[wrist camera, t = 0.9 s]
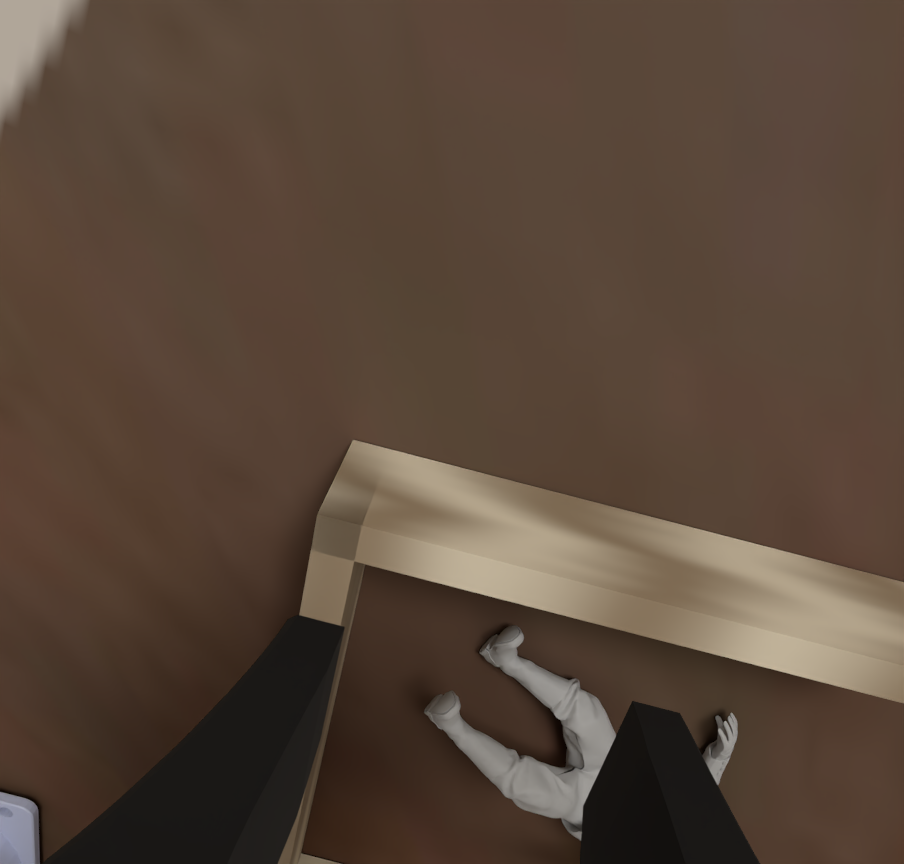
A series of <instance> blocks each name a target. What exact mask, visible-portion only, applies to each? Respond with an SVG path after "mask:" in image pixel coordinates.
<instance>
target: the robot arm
mask: <svg viewBox="0 0 904 864" xmlns="http://www.w3.org/2000/svg"><path fill="white" fill-rule="evenodd" d="M344 629H345V627H343V626H340V625H336V624H332V623H328V622H324V621H320V620H316V619H312V618H308V617H305V616H301V615H296V616H294V617H292V618H290V619H288V620H287V621H286V623H285V624H284V626H283V627H282V629H281V630H280V631H279V633H278V634H277V636H276V637H275V638H274V639H273V641H272V642H271V643H270V645H269V646H268V647H267V648H266V650H265V651H264V652H263V653H262V655H261V656H260V657H259V658H258V659H257V661H256V662H255V663H254V664H253V665H252V666H251V668H250V669H249V670H248V671H247V672H246V673H245V674H244V676H243V677H242V678H241V679H240V680H239V681H238V682H237V683H236V685H235V686H234V687H233V688H232V689H231V690H230V691H229V692H228V693H227V695H226V696H225V697H224V698H223V699H222V700H221V701H220V702H219V703H218V704H217V705H216V706H215V707H214V708H213V709H212V710H211V711H210V712H209V713H208V714H207V715H206V716H205V717H204V718H203V719H202V721H201V722H200V723H199V724H198V725H197V726H196V727H195V728H194V729H193V730H192V731H191V732H190V733H189V734H188V735H187V736H186V737H185V738H184V739H183V740H182V741H181V742H180V743H179V744H178V745H177V746H176V747H175V748H174V749H173V750H172V751H170V752H169V753H168V754H167V755H166V756H165V757H164V758H163V759H162V760H161V761H160V762H159V763H158V764H156V765H155V766H154V767H153V768H152V769H151V770H150V771H149V772H148V773H147V774H146V775H145V776H144V777H143V778H141V779H140V780H139V781H138V782H137V783H136V784H135V785H134V786H133V787H132V788H131V789H130V790H129V791H127V792H126V793H125V794H124V795H123V796H122V797H121V798H120V799H119V800H117V801H116V802H115V803H114V804H113V805H112V806H111V807H109V808H108V809H107V810H106V811H105V812H104V813H102V814H101V815H100V816H99V817H98V818H97V819H95V820H94V821H93V822H92V823H91V824H90V825H88V826H87V827H86V828H85V829H84V830H82V831H81V832H80V833H79V834H78V835H76V836H75V837H74V838H73V839H72V840H70V841H69V842H68V843H67V844H65V845H64V846H63V847H62V848H60V849H59V850H58V851H57V852H55V853H54V854H53V855H52V856H50V857H49V858H48V859H47V860H46V861H44V862H43V863H42V864H278V862H279V859H280V857H281V854H282V852H283V849H284V847H285V845H286V842H287V840H288V837H289V835H290V832H291V830H292V827H293V825H294V822H295V820H296V818H297V814H298V811H299V808H300V805H301V801H302V798H303V795H304V792H305V788H306V785H307V782H308V779H309V775H310V772H311V769H312V765H313V762H314V759H315V756H316V752H317V749H318V746H319V742H320V739H321V735H322V730H323V726H324V721H325V716H326V712H327V707H328V703H329V698H330V693H331V689H332V684H333V680H334V675H335V670H336V666H337V661H338V657H339V652H340V647H341V643H342V638H343V634H344ZM0 864H40V851H39V815H38V808H37V806H36V804H35V803H34V802H32V801H31V800H29V799H26V798H23V797H19V796H15V795H11V794H7V793H3V792H0ZM580 864H760V863H759V861H758V859H757V857H756V856H755V854H754V852H753V850H752V849H751V847H750V845H749V843H748V841H747V839H746V838H745V836H744V834H743V832H742V830H741V828H740V827H739V825H738V823H737V821H736V819H735V817H734V815H733V814H732V812H731V810H730V808H729V806H728V804H727V802H726V800H725V798H724V797H723V795H722V793H721V791H720V789H719V787H718V785H717V783H716V781H715V779H714V777H713V776H712V774H711V772H710V770H709V768H708V766H707V764H706V762H705V760H704V758H703V756H702V754H701V752H700V750H699V748H698V747H697V745H696V743H695V741H694V739H693V737H692V735H691V733H690V731H689V729H688V727H687V726H686V724H685V722H684V720H683V718H682V716H681V715H680V713H677V712H673V711H669V710H665V709H661V708H658V707H654V706H650V705H646V704H642V703H638V702H634V701H632V703H631V705H630V707H629V710H628V712H627V714H626V716H625V718H624V720H623V722H622V724H621V727H620V729H619V731H618V733H617V735H616V737H615V739H614V741H613V743H612V746H611V748H610V750H609V752H608V754H607V756H606V758H605V760H604V763H603V765H602V767H601V769H600V771H599V773H598V775H597V777H596V780H595V782H594V784H593V786H592V788H591V790H590V792H589V794H588V797H587V799H586V801H585V803H584V805H583V817H582V834H581V851H580Z"/></svg>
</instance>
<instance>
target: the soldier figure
mask: <svg viewBox="0 0 904 864" xmlns="http://www.w3.org/2000/svg"><path fill="white" fill-rule="evenodd" d="M523 639H524V636H523V633H522V632H521V629H520V628H519V627H518V626H515V625H513V626H509V627H507V628H505V629H504V630H503V631H502V632H501V633H500V635H499V636H498V635H497V634H496V635H494V636H492V637H491V638H490V639H488V641H487V642H486V643H485V644H484V645H483V646H482V648H481V649H480V651H479V653H480V654H481V655H483V656H484V658H485V659H486V661H488V662H490V663H491V664H493V665H494V666H495V667H500V668H501V670H502V671H503V672H505V673H506V674H508V675H509V676H512V677H514V678H515V679H516V680H517V681H518V682H519V683H520V684H522V685H523V686H524V687H525V688H526V689H528V690H529V691H530V692H531V693H532V694H533V695H534V696H535V697H536V698H537V699H538V700H539V701H540V702H542V703H543V704H544V705H545V706H546V707H548V708H550V710H551V711H552V712H553V713H554V715H555V716H556V718H558V719H559V720H560V721H561V724H562V725H563V736H564V740H565V743H566V746H567V753H566V766H565V767H562V768H559V767H555V766H551V765H548V764H546V763H543V762H539V761H537V760H536V759H534V758H532V757H530V756H527V755H523V756H518V754H517V752H516V751H515V750H513V749H508V748H505V747H504V746H503V745H502V744H500V743H499V742H497V741H496V740H494V739H493V738H491V737H489V736H488V735H486V734H484V733H482V732H480V731H478V730H475V729H473V728H472V727H471V726H469V725H468V724H467V723H466V722H465V721H464V720H463V719H462V718H461V716H460V712H459V710H460V707H461V705H460V701H459V697H458V696H457V695H456V694H455V692H454V691H449V692H447V693H445V694H444V695H442V694H439V695H437V696H435V697H434V699H433V700H432V701H431V702H430V703H429V704H428V705H427V707H426V708H425V711H424V713H425V714H426V715H427V716H428V717H429V718H430V720H431V721H432V722H434V723H435V724H436V725H437V727H438V728H439V729H443V730H444V731H445V732H446V733H447V734H448V736H449V737H450V738H451V739H452V740H453V741H454V742H455V744H456V745H457V747H458V748H459V749H461V750H462V751H463V752H464V753H465V754H466V755H467V756H468V757H469V758H470V759H471V760H472V761H473V763H474V764H475V765H476V766H477V767H478V768H479V770H480V771H481V772H482V773H483V774H484V775H485V776H486V777H487V778H488V779H489V780H490V781H491V782H492V783H493V784H495V785H496V786H497V787H498V788H499V790H500V791H501V792H502V793H503V795H504V796H505V797H507V798H510V799H512V800H513V802H514V803H515V804H516V805H517V806H518V807H520V808H521V809H523V810H526V811H530V812H533V813H536V814H540V815H543V816H547V817H550V818H561V819H562V823H563V825H564V826H565V828H566V829H567V831H568V832H569V833H570V834H572V835H573V836H574V837H576V838H577V839H579V840H580V841H581V834H582V817H583V805H584V803H585V801H586V799H587V797H588V794H589V792H590V790H591V788H592V786H593V784H594V782H595V780H596V777H597V775H598V773H599V771H600V769H601V767H602V765H603V763H604V760H605V758H606V756H607V754H608V752H609V750H610V748H611V746H612V743H613V741H614V739H615V737H616V734H615V731H614V729H613V728H612V725H611V723H610V720H609V718H608V716H607V713H606V711H605V710H604V708H603V707H602V705H601V703H600V701H599V700H598V698H597V697H595V696H594V695H592V694H590V693H588V692H586V691H584V690H582V689H581V688H580V682H579V680H578V679H576V678H574V679H571V680H567V679H565V678H563V677H560V676H558V675H555V674H553V673H551V672H549V671H547V670H545V669H543V668H541V667H539V666H537V665H536V664H534V663H533V662H532V661H530V660H526V659H524V658H522V657H518V656H517V648H516V647H518V646H519V645H520V644H521V643H522V642H523ZM715 719H716V721H717V725H718V737H717V740H716V741H715V742H713V743H710V744H709V745H708V747H707V748H706V749H705V752H704V754H703V755H702V756H703V758H704V760H705V762H706V764H707V766H708V768H709V770H710V772H711V774H712V776H713V777H714V779H715V781H716V783H717V785H718V784H719V782H720V778H721V775H722V773H723V771H724V769H725V766H726V765H727V763H728V761H729V759H730V755H731V753H732V751H733V748H734V744H735V742H736V740H737V735H738V732H737V720H736V718H735V716H734V715H733V714H732V712H731V713H730V716H728V722H729V724H730V727H731V728H730V727H729V725H728V724H727V722H726V721H724V723H723V721H722V719H721V718H720V716H716V717H715ZM564 772H565V773H564Z"/></svg>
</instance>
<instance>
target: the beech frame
mask: <svg viewBox="0 0 904 864" xmlns="http://www.w3.org/2000/svg"><path fill="white" fill-rule="evenodd" d="M365 564H366V565H370V566H374V567H378V568H382V569H386V570H389V571H393V572H397V573H401V574H405V575H409V576H413V577H417V578H420V579H424V580H428V581H432V582H436V583H440V584H444V585H448V586H451V587H455V588H459V589H463V590H467V591H471V592H475V593H479V594H482V595H486V596H490V597H494V598H498V599H502V600H506V601H510V602H513V603H517V604H521V605H525V606H529V607H533V608H537V609H540V610H544V611H548V612H552V613H556V614H560V615H564V616H568V617H571V618H575V619H579V620H583V621H587V622H591V623H595V624H599V625H602V626H606V627H610V628H614V629H618V630H622V631H626V632H630V633H633V634H637V635H641V636H645V637H649V638H653V639H657V640H661V641H664V642H668V643H672V644H676V645H680V646H684V647H688V648H692V649H695V650H699V651H703V652H707V653H711V654H715V655H719V656H723V657H726V658H730V659H734V660H738V661H742V662H746V663H750V664H754V665H757V666H761V667H765V668H769V669H773V670H777V671H781V672H785V673H788V674H792V675H796V676H800V677H804V678H808V679H812V680H815V681H819V682H823V683H827V684H831V685H835V686H839V687H843V688H846V689H850V690H854V691H858V692H862V693H866V694H870V695H874V696H877V697H881V698H885V699H889V700H893V701H897V702H901V703H904V582H901V581H897V580H893V579H889V578H885V577H881V576H878V575H874V574H870V573H866V572H862V571H858V570H854V569H851V568H847V567H843V566H839V565H835V564H831V563H827V562H824V561H820V560H816V559H812V558H808V557H804V556H800V555H796V554H793V553H789V552H785V551H781V550H777V549H773V548H769V547H766V546H762V545H758V544H754V543H750V542H746V541H742V540H739V539H735V538H731V537H727V536H723V535H719V534H715V533H711V532H708V531H704V530H700V529H696V528H692V527H688V526H684V525H681V524H677V523H673V522H669V521H665V520H661V519H657V518H654V517H650V516H646V515H642V514H638V513H634V512H630V511H626V510H623V509H619V508H615V507H611V506H607V505H603V504H599V503H596V502H592V501H588V500H584V499H580V498H576V497H572V496H569V495H565V494H561V493H557V492H553V491H549V490H545V489H541V488H538V487H534V486H530V485H526V484H522V483H518V482H514V481H511V480H507V479H503V478H499V477H495V476H491V475H487V474H484V473H480V472H476V471H472V470H468V469H464V468H460V467H456V466H453V465H449V464H445V463H441V462H437V461H433V460H429V459H426V458H422V457H418V456H414V455H410V454H406V453H402V452H399V451H395V450H391V449H387V448H383V447H379V446H375V445H371V444H368V443H364V442H360V441H356V440H353V441H352V443H351V445H350V447H349V449H348V451H347V454H346V456H345V458H344V460H343V462H342V464H341V466H340V468H339V470H338V472H337V474H336V476H335V479H334V481H333V483H332V485H331V487H330V489H329V491H328V493H327V495H326V497H325V499H324V501H323V503H322V506H321V508H320V510H319V512H318V514H317V519H316V525H315V530H314V536H313V541H312V547H311V552H310V558H309V564H308V569H307V575H306V580H305V586H304V591H303V597H302V602H301V608H300V614H299V615H301V616H305V617H308V618H312V619H316V620H320V621H324V622H328V623H332V624H336V625H340V626H343V627H345V629H344V634H343V638H342V643H341V647H340V652H339V657H338V661H337V666H336V670H335V675H334V680H333V684H332V689H331V693H330V698H329V703H328V707H327V712H326V716H325V721H324V726H323V730H322V735H321V739H320V742H319V746H318V749H317V752H316V756H315V759H314V762H313V765H312V769H311V772H310V775H309V779H308V782H307V785H306V788H305V792H304V795H303V798H302V801H301V805H300V808H299V811H298V814H297V818H296V820H295V822H294V825H293V827H292V830H291V832H290V835H289V837H288V840H287V842H286V845H285V847H284V849H283V852H282V854H281V857H280V859H279V862H278V864H341V863H337V862H333V861H329V860H325V859H321V858H317V857H313V856H310V855H306V854H302V853H301V852H302V847H303V843H304V838H305V834H306V829H307V825H308V820H309V816H310V811H311V807H312V802H313V798H314V793H315V789H316V784H317V780H318V775H319V771H320V766H321V762H322V757H323V753H324V748H325V744H326V739H327V735H328V730H329V726H330V721H331V717H332V712H333V708H334V703H335V699H336V694H337V690H338V685H339V681H340V676H341V672H342V667H343V663H344V658H345V654H346V649H347V645H348V640H349V636H350V631H351V627H352V622H353V618H354V613H355V609H356V604H357V600H358V595H359V591H360V586H361V582H362V577H363V573H364V568H365Z"/></svg>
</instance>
